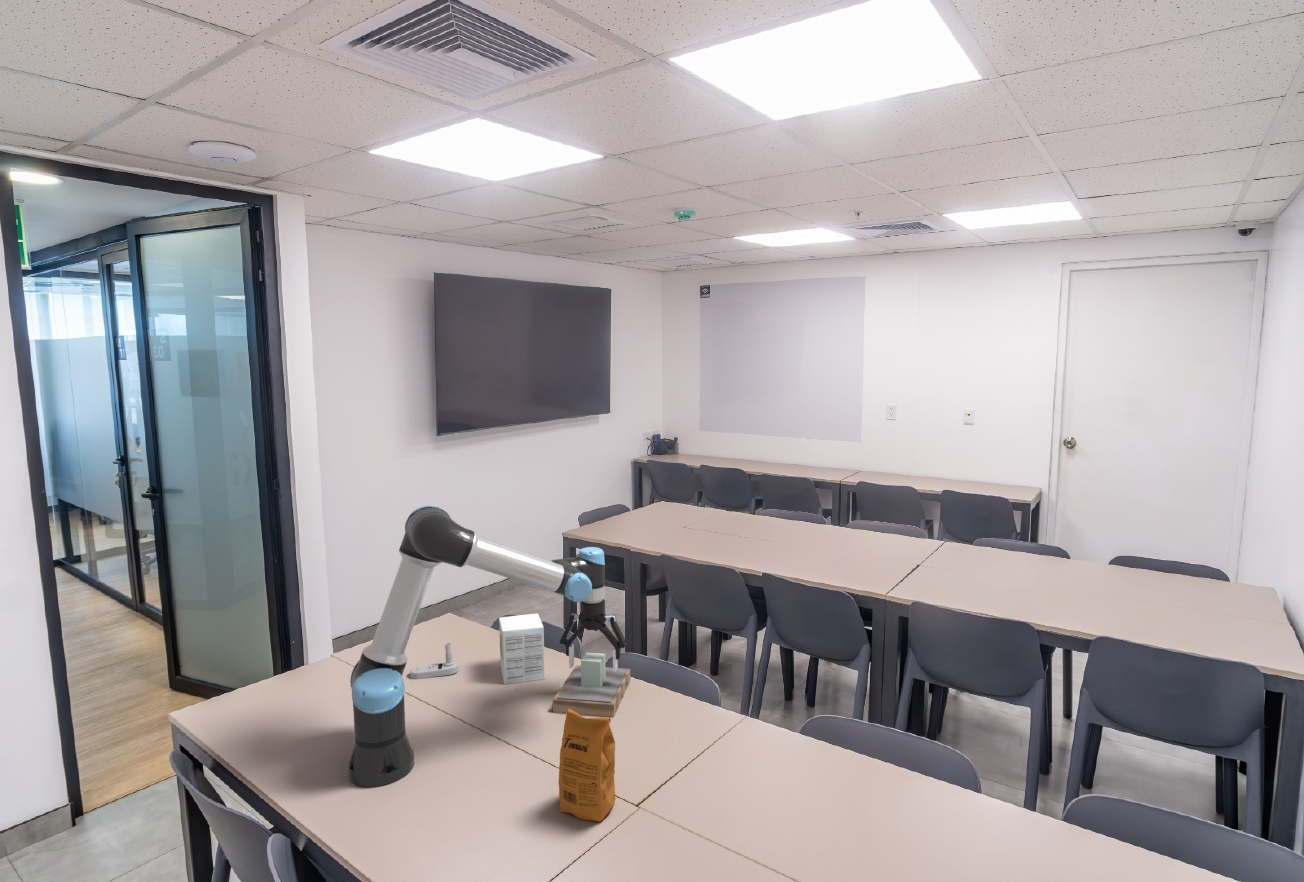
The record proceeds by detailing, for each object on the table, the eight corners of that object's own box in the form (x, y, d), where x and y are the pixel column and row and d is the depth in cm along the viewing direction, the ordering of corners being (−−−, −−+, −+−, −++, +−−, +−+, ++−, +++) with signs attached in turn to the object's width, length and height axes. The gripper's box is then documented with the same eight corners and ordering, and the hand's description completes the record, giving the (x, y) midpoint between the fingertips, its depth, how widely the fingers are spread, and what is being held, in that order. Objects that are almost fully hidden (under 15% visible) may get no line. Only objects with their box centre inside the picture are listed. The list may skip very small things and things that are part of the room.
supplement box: (499, 667, 225) (498, 617, 223) (539, 662, 229) (538, 612, 227) (503, 685, 212) (501, 631, 211) (545, 679, 216) (544, 626, 215)
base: (613, 717, 192) (613, 703, 192) (553, 712, 195) (552, 698, 195) (630, 679, 216) (630, 667, 215) (576, 675, 219) (576, 664, 218)
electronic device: (409, 645, 221) (456, 640, 224) (411, 674, 222) (458, 668, 225) (407, 652, 215) (456, 646, 219) (409, 681, 216) (458, 675, 220)
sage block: (600, 687, 201) (600, 662, 201) (581, 686, 202) (580, 660, 202) (605, 678, 207) (605, 653, 207) (586, 677, 208) (586, 652, 208)
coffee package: (575, 787, 159) (573, 698, 157) (621, 801, 154) (620, 709, 152) (551, 811, 150) (549, 717, 148) (599, 827, 145) (598, 730, 143)
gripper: (635, 597, 204) (636, 665, 206) (556, 593, 208) (557, 659, 210) (630, 605, 197) (631, 675, 199) (548, 601, 201) (549, 670, 203)
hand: (593, 667), depth 204 cm, fingers open, 13 cm apart
